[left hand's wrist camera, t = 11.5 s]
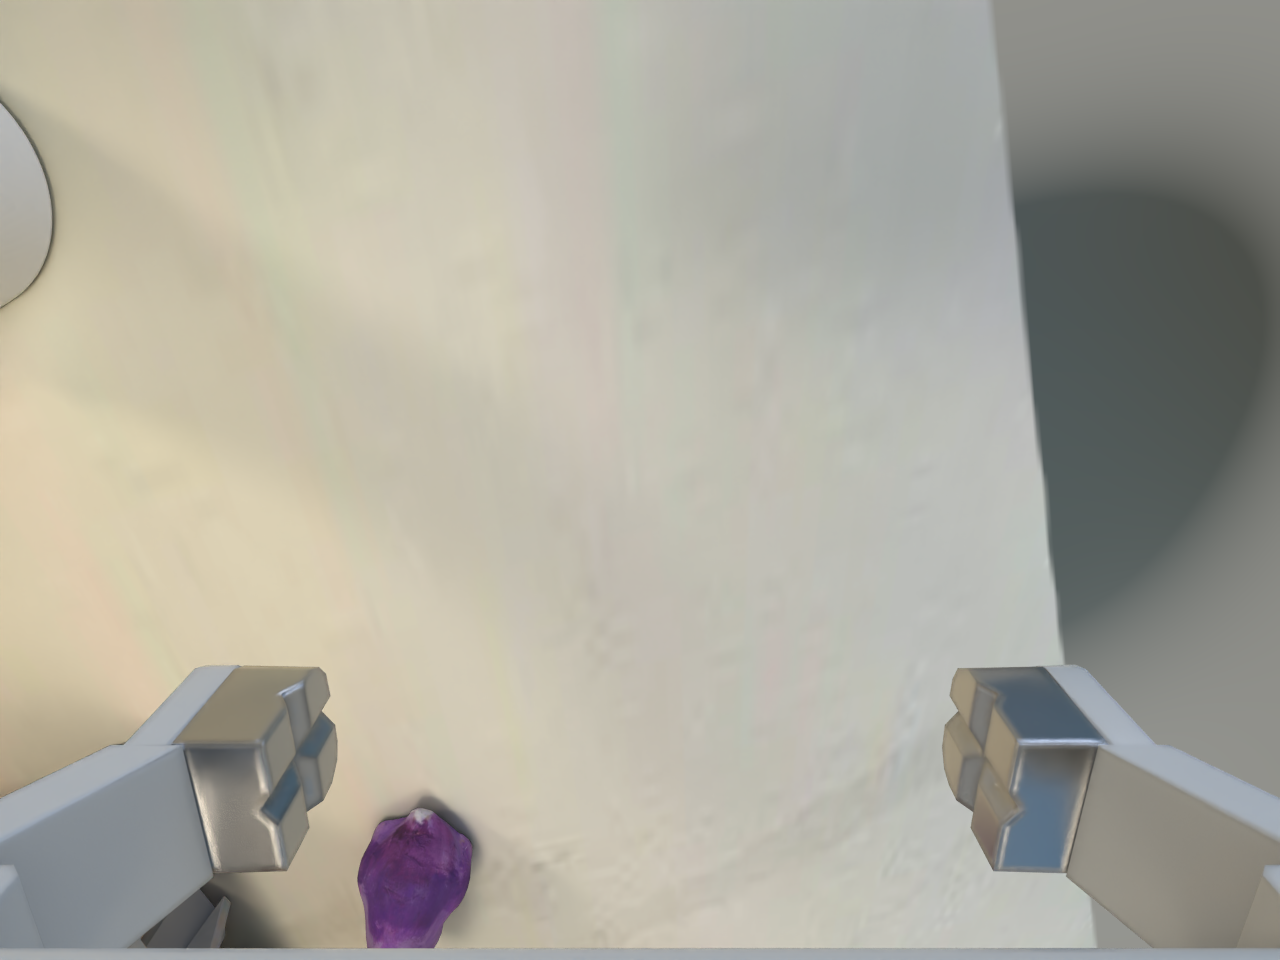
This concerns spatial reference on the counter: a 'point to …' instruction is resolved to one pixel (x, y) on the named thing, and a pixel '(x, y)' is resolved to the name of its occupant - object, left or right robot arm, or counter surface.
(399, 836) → the figurine
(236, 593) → the counter surface
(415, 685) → the counter surface
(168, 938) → the grey record crate
